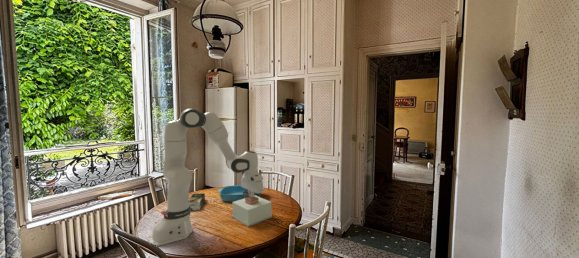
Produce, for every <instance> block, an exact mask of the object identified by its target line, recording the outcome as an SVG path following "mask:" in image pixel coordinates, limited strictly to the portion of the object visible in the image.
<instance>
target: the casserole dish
mask: <svg viewBox="0 0 579 258" xmlns="http://www.w3.org/2000/svg"><path fill="white" fill-rule="evenodd" d="M245 190H248V189H245V188H243V187H241V184H240V185H239V184H238V185H227V186H224V187H222V188H219V190H218V191H217V192H218V193H219V196H220V198H221V199H220V200H222V201H224V202H234V201H238V200H241V199H243V192H244V191H245ZM264 191H265V187H264V186H263V192H264ZM261 195H262V193H259V197H261Z"/></svg>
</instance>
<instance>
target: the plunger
mask: <svg viewBox="0 0 579 258" xmlns="http://www.w3.org/2000/svg"><path fill="white" fill-rule="evenodd" d="M258 199H259V198H257V197H255V196H254V197H247V198H245V203H247V204H249V205H252V204H255V203H258Z"/></svg>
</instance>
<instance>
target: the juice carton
mask: <svg viewBox="0 0 579 258" xmlns="http://www.w3.org/2000/svg"><path fill="white" fill-rule="evenodd" d="M205 197H206V195H205V193H203V192H202V193H193V194H192V195H191V196H190V197H189V206H190V211H199V210H201V208H202V207H203V205H204V202H205V201H206V198H205Z"/></svg>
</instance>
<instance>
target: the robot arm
mask: <svg viewBox="0 0 579 258" xmlns="http://www.w3.org/2000/svg"><path fill="white" fill-rule="evenodd" d="M222 121H223V120H221V119H220V117H219V116H218V115H217V114H216V113H215V112H213V111H207V112H205V113H203V112H201V111H200V110H198V109H196V108H189V107H188V108H185V109H183V111H182V112H181V113H180V115H179V116H178V118H177V119H176V120H171V121H168V122H167V123H166V125H165V127H164V129H165V130H164V140H163V141H164V163H163V170H162V171H163V172H162V174H163V178H164V179H165V180H166V181H167V182H168V192H167V195H166V201H167V203H166V204H167V205H166V206H167V207H166V208H167V209H166V210H164V209H163V210H161V212H160V214H161V215H162V216H163V218H161V219H160V221H159V222H157V223H156V224H154V226H153V229H152V234H149V235H148V237H147V241H148V243H149V242H150V243H152V244H154V245H156V246H155V247H160V246H163V245H167V244H170V243H173V242H178V241H181V240H185V239H188V237H189V235H190V234H192V232H194V228H193V225H192V222H191V210H190V206H189V199H190V197H189V196H190V195H189V193H190V187H191V183H192V180H193V175H192V172H191V171H190V169H189V168H187V167H186V164H185V163H186V157H187V155H188V145H187V132H188V130H189V129H196V128H200V127H201V128H202V129H203V130H204V131H205V133H206V134H207V136H208V138H209V139H210V140H211V142H213V143H214V144H215V145H216V146H217V147H218V148H219V150H220V152H221V153H222V154H223V156H224V158H225V164H226V166H227V168H228V169H229V170H231V171H232V172H233V173H236V174H240V173H243V174H242V175H241V178H240V185H241V187H243V188H245V189H248V193H249V196H250V197H254V193H258V194H259V193H261V194H262V193H263V192H264V191H263V187H264V183H263V182H264V181H263V180H264V177H263V176H262V175H261V174H260V173H259V169H258V168H259V167H258V166H259V157H258V153H257V152H256V151H254V150H245V151H244V152H243V153H242V154H240V155H238V154H236V153H235V152H234V150H233V148H232V147H231V145H230V144H229V141H228V138H229V133H228V130H227V127H226V126H225V124H224V122H222ZM150 243H149V244H150Z"/></svg>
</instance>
